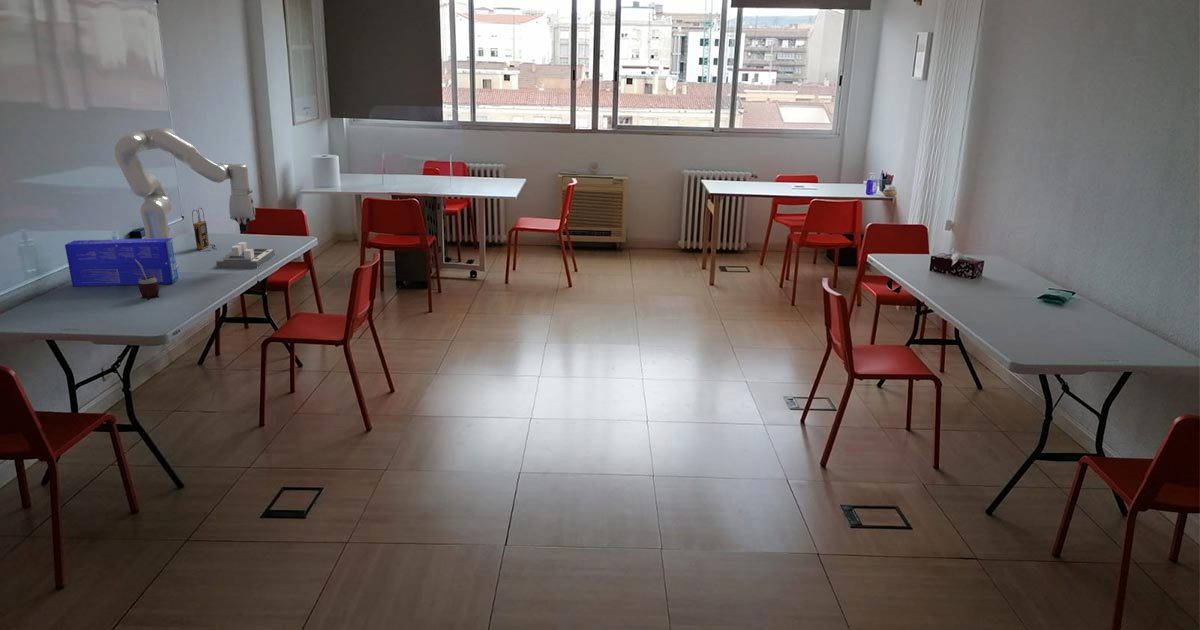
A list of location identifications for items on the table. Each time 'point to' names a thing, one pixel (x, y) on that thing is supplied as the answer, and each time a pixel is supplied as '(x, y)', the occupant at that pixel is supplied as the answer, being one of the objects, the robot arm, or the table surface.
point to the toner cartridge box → (121, 261)
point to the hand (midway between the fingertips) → (243, 232)
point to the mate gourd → (148, 286)
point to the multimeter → (201, 233)
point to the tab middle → (236, 250)
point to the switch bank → (240, 262)
